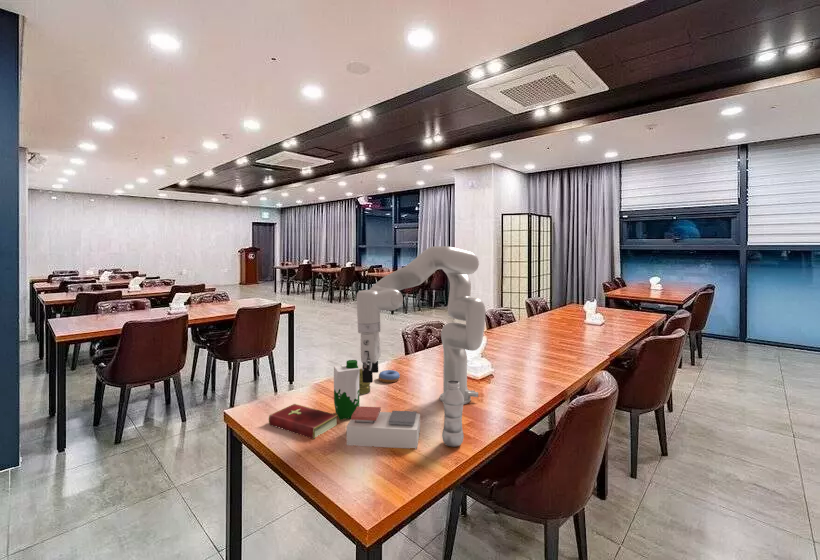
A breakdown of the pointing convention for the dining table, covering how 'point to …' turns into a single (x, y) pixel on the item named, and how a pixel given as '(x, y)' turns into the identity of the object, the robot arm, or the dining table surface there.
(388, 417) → the white button box
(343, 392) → the milk carton
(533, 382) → the dining table surface
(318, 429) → the hardcover book
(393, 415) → the grey square push button
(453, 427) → the plastic bottle
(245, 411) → the dining table surface
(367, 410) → the red square push button
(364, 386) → the gold rounded piece
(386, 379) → the doughnut
